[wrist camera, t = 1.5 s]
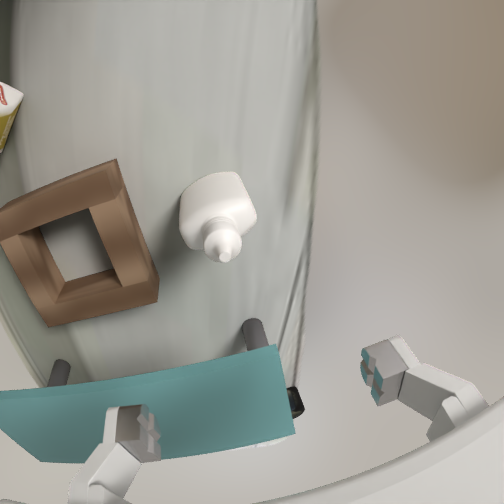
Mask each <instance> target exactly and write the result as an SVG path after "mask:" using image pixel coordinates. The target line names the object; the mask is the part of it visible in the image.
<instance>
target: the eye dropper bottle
mask: <svg viewBox="0 0 504 504" xmlns="http://www.w3.org/2000/svg"><path fill="white" fill-rule="evenodd" d="M256 221H257V215H256V212H255V209H254V206H253V204H252V202H251V199H250V197H249V195H248V193H247V191H246V189H245V187H244V185H243V183H242V181H241V179H240V177H239V176H238V174H237V173H235V172H218V173H213V174H210V175H207V176H204V177H202V178H200V179H198V180H197V181H195V182H194V183H192V184H191V185H190V186H189V187H188V188H187V189H186V190H185V191H184V192H183V193H182V195H181V199H180V213H179V229H180V233H181V235H182V237H183V239H184V241H185V243H186V244H187V246H188V247H189V248H191V249H194V250H204V252H205V254H206V255H207V256H208V257H209V258H210V259H212V260H213V261H217V262H228V261H231V260H232V259H234V258H235V257H237V255H238V254H239V252H240V251H241V247H242V240H241V237H243V236H244V235H245V234H246V233H247V232H248V231H249V230H250V229H251V228H252V227H253V226H254V225H255V223H256Z"/></svg>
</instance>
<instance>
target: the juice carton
mask: <svg viewBox="0 0 504 504" xmlns="http://www.w3.org/2000/svg"><path fill="white" fill-rule="evenodd" d="M23 96H24V94H23V93H22V92H20V91H18V90H16V89H14V88H12V87H10V86H8V85H6V84H4V83H2V82H0V153H1V152H2V151H3V148H4V146H5V143H6V140H7V137H8V134H9V131H10V129H11V126H12V123H13V121H14V118H15V116H16V113H17V111H18V108H19V106H20V103H21V101H22V99H23Z"/></svg>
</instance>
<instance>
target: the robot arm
mask: <svg viewBox="0 0 504 504" xmlns="http://www.w3.org/2000/svg"><path fill="white" fill-rule="evenodd" d="M361 356H362V357H363V360H362V362H361V367H360V368H361V373H362V377H363V379H364V381H365V383H366V385H368V386H370V387H372V390H371V395H372V397H373V398H374V400H375V402H376V404H377V406H381V405H383V404H386V403H388V402H391V401H394V400H396V399H398V400H399V401H400V402H402V403H404V404H405V405H407V406H409V407H411V408H412V409H413V410H415V411H417V412H418V413H420V414H422V415H423V416H425V417H427V418H428V419H430V420H432V421H433V422H432V424H431V426H430V428H429V429H428V432H427V434H426V435H427V437H428V439H429V440H430V442H429V443H427V444H425V445H423V446H421V447H419V448H417V449H415V450H413V451H411V452H409V453H407V454H405V455H402V456H400V457H398V458H396V459H394V460H392V461H389V462H387V463H384V464H382V465H380V466H377V467H375V468H372V469H370V470H367V471H365V472H362V473H360V474H357V475H355V476H351V477H349V478H346V479H343V480H340V481H337V482H334V483H331V484H328V485H325V486H322V487H318V488H315V489H312V490H308V491H305V492H301V493H298V494H294V495H290V496H286V497H282V498H277V499H273V500H268V501H263V502H259V503H254V504H504V396H503V397H502V398H501V399H500V400H498V401H497V402H495V403H494V404H492V405H491V406H489V405H488V404H487V402H486V401H485V399H484V398H483V397H482V395H481V394H480V393H479V391H478V390H477V388H476V387H475V386H474V384H473V383H471V382H469V381H466V380H464V379H462V378H459V377H457V376H454V375H452V374H450V373H447V372H445V371H443V370H440V369H438V368H436V367H433V366H431V365H428V364H426V363H422V364H421V363H420V362H419V361H418V359H417V358H416V356H415V355H414V354H413V353H412V351H411V349H410V348H409V347H408V345H407V344H406V343H405V341H404V340H403V338H402V337H401V336H399V335H397V336H394V337H392V338H389V339H387V340H383V341H381V342H378V343H376V344H373V345H371V346H368V347H365V348H363V349H362V353H361ZM160 436H161V433H160V426H159V422H158V420H157V418H156V417H155V415H154V414H151V413H149V408H148V407H147V405H146V404H138V405H130V406H119V407H111V408H108V410H107V411H106V418H105V426H104V434H103V443H99V445H98V446H97V447H96V449H95V450H94V451H93V453H92V454H91V455H90V457H89V458H88V459H87V461H86V462H85V463H84V465H83V466H82V467H81V468H80V470H79V471H78V473H77V474H76V475H75V476H74V478H73V479H72V480H71V482H70V486H69V495H68V504H131V503H129V502H128V501H126V500H124V499H123V498H124V496H125V494H126V492H127V490H128V488H129V487H130V485H131V483H132V481H133V479H134V477H135V475H136V473H137V472H138V470H139V468H140V466H141V463H144V462H153V461H160V460H161V446H160V445H159V444H158V442H157V441H158V439H159V438H160ZM0 504H25V503H21V502H16V501H12V500H7V499H2V500H0Z"/></svg>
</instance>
